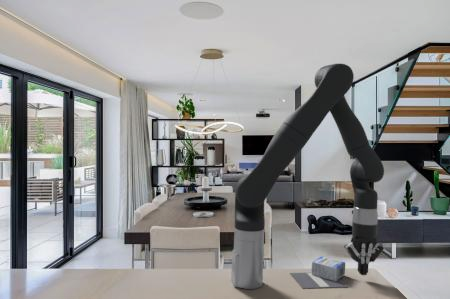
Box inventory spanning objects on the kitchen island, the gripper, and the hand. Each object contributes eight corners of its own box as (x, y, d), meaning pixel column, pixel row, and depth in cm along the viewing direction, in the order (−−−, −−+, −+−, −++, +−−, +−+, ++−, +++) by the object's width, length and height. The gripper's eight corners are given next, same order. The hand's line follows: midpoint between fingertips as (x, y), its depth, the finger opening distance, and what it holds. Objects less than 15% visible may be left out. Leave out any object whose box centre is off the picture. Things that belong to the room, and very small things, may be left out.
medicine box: (337, 268, 111) (311, 261, 116) (336, 282, 111) (310, 274, 116) (345, 262, 117) (320, 255, 122) (345, 275, 117) (320, 268, 123)
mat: (302, 288, 106) (302, 287, 106) (289, 273, 117) (289, 272, 117) (347, 287, 108) (347, 286, 108) (330, 272, 120) (330, 272, 120)
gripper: (351, 224, 108) (349, 279, 109) (390, 223, 110) (388, 278, 111) (340, 218, 116) (338, 270, 116) (377, 218, 118) (375, 269, 118)
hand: (362, 274), depth 114 cm, fingers closed
